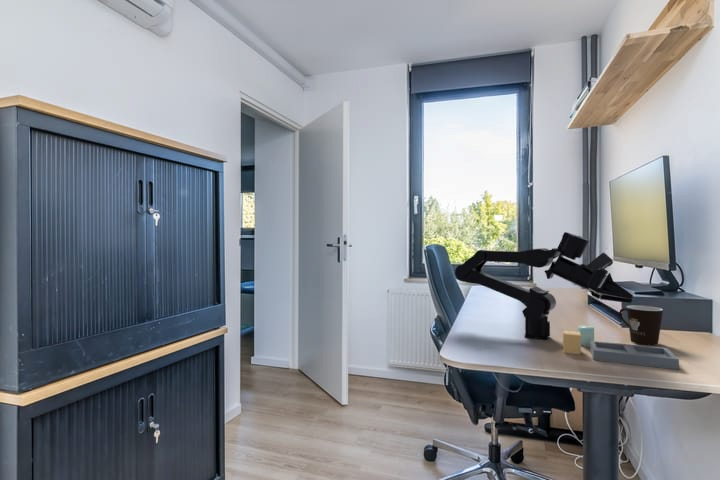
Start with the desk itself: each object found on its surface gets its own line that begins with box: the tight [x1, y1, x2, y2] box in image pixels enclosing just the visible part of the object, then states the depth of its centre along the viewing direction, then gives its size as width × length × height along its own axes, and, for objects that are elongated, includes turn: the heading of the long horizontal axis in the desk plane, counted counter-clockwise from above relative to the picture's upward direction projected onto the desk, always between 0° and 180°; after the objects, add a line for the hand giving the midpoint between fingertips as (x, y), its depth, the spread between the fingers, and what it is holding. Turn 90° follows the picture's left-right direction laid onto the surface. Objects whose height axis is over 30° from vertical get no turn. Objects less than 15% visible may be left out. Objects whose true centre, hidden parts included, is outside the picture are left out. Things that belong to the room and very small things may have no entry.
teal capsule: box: [577, 325, 595, 348], centre depth 111 cm, size 4×4×5 cm
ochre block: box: [562, 330, 582, 355], centre depth 105 cm, size 4×4×5 cm
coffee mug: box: [618, 304, 664, 347], centre depth 114 cm, size 12×9×10 cm
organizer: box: [589, 340, 680, 370], centre depth 98 cm, size 17×10×2 cm, turn 64°
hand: (632, 299), depth 104 cm, fingers open, 9 cm apart
